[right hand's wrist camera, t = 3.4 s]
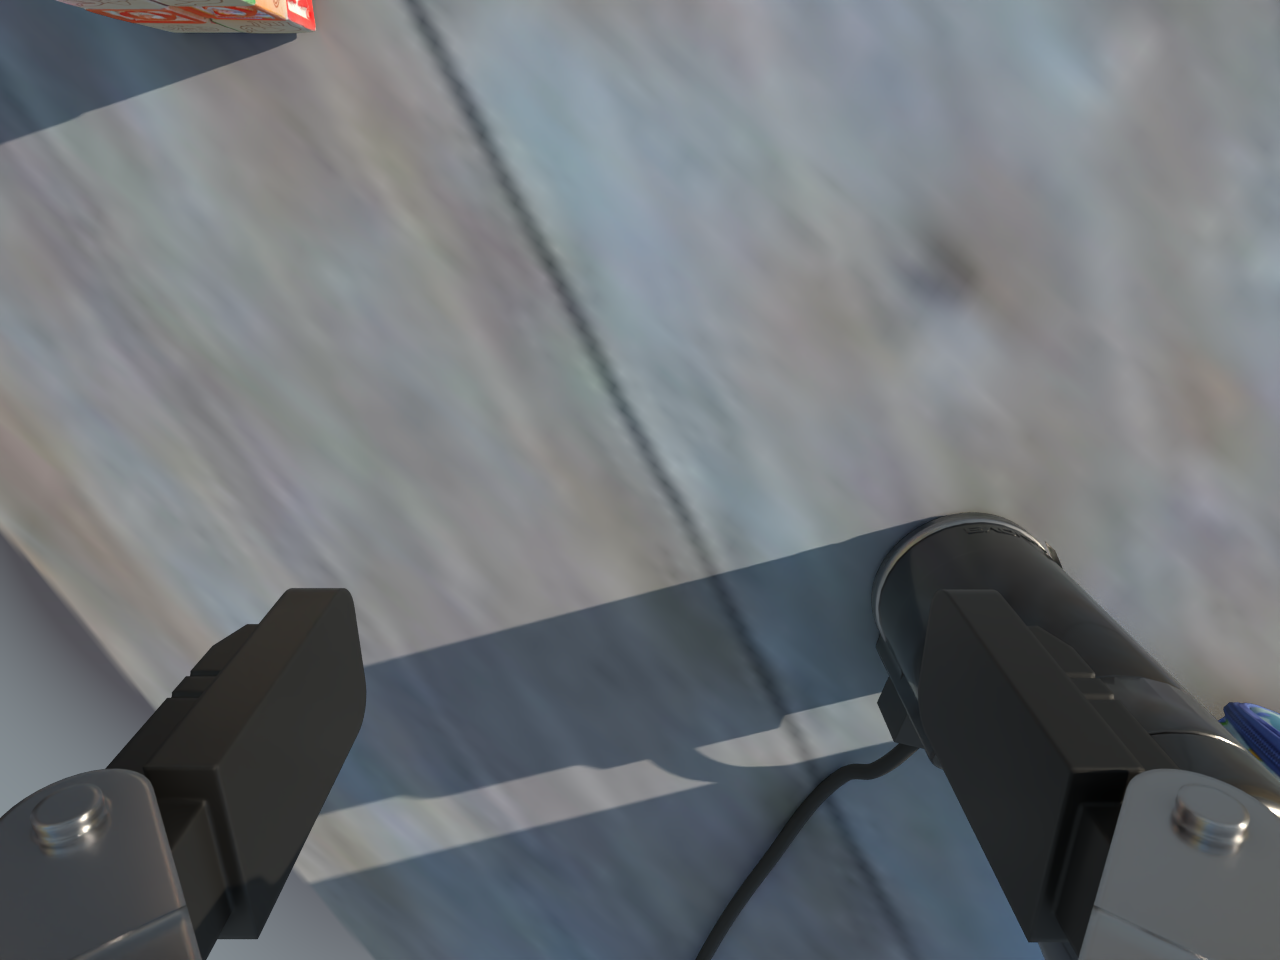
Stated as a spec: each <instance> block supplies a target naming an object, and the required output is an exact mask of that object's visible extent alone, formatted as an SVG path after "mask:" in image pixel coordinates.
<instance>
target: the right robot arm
mask: <svg viewBox="0 0 1280 960" xmlns="http://www.w3.org/2000/svg"><path fill="white" fill-rule="evenodd" d="M1045 543H1046V542H1045ZM1046 545H1047V548H1048V550H1049V552H1050V555H1051V557H1052V558H1051V557H1050V556H1049V555H1048V554H1047V552H1046V551H1045V550H1044V548H1043V547H1042V546H1041V545H1040V544H1039V543H1038V542H1037V541H1036V540H1035V539H1034V538H1033V537H1032V536H1031V535H1030V534H1029V533H1028V532H1027V531H1026V530H1025V529H1023V528H1022V527H1020V526H1019V525H1017V524H1016V523H1014V522H1012V521H1010V520H1008V519H1005V518H1003V517H999V516H996V515H991V514H986V513H959V514H953V515H948V516H944V517H941V518H938V519H935V520H933V521H930V522H928V523H926V524H924V525H922V526H920V527H918V528H917V529H915V530H914V531H912V532H910V533H909V534H908V535H907V536H905V537H904V538H903V539H902V540H901V541H899V542H898V543H897V544H896V545H895V546H894V548H893V549H892V550H891V551H890V552H889V554H888V555H887V556H886V558H885V559H884V561H883V562H882V564H881V566H880V568H879V570H878V572H877V575H876V578H875V580H874V584H873V589H872V611H873V616H874V619H875V622H876V625H877V627H878V629H879V631H880V637H879V639H878V642H877V644H876V649H877V651H878V653H879V655H880V657H881V659H882V662H883V664H884V666H885V668H886V670H887V672H888V674H889V677H888V680H887V682H886V684H885V686H884V688H883V691H882V693H881V695H880V697H879V699H878V702H877V704H878V706H879V708H880V711H881V713H882V715H883V718H884V720H885V722H886V724H887V727H888V729H889V731H890V734H891V736H892V738H893V741H894V742H897V743H899V744H898V745H897V746H896V747H894V748H893V749H892V750H891V751H890V752H888V753H887V754H886V755H884V756H883V757H882V758H880V759H878V760H877V761H875V762H873V763H870V764H850V765H847V766H844V767H842V768H840V769H838V770H837V771H835V772H834V773H832V774H831V775H830V776H829V777H827V778H826V779H825V780H824V781H823V782H822V783H821V784H819V785H818V786H817V787H816V788H815V789H814V791H813V792H812V793H811V794H810V795H809V796H808V797H807V798H806V800H805V801H804V802H803V803H802V804H801V805H800V807H799V808H798V809H797V811H796V812H795V813H794V815H793V816H792V817H791V819H790V820H789V821H788V823H787V824H786V826H785V827H784V828H783V830H782V831H781V833H780V834H779V835H778V837H777V838H776V840H775V841H774V842H773V844H772V845H771V847H770V848H769V849H768V851H767V852H766V853H765V855H764V856H763V858H762V859H761V860H760V862H759V863H758V864H757V865H756V867H755V868H754V869H753V871H752V872H751V873H750V875H749V876H748V878H747V879H746V880H745V882H744V883H743V884H742V886H741V887H740V889H739V890H738V891H737V893H736V894H735V896H734V897H733V899H732V900H731V901H730V903H729V904H728V906H727V907H726V909H725V910H724V912H723V914H722V915H721V917H720V918H719V920H718V922H717V923H716V925H715V926H714V928H713V930H712V931H711V933H710V935H709V937H708V938H707V940H706V942H705V943H704V945H703V947H702V949H701V951H700V952H699V954H698V956H697V958H696V960H711V958H712V957H713V955H714V953H715V951H716V950H717V948H718V946H719V945H720V943H721V941H722V940H723V938H724V936H725V935H726V933H727V931H728V930H729V928H730V927H731V925H732V924H733V922H734V921H735V919H736V917H737V916H738V915H739V913H740V912H741V910H742V909H743V907H744V906H745V904H746V903H747V902H748V900H749V899H750V897H751V896H752V895H753V893H754V892H755V891H756V889H757V888H758V887H759V885H760V884H761V883H762V881H763V880H764V879H765V877H766V876H767V875H768V873H769V872H770V871H771V870H772V868H773V867H774V866H775V864H776V863H777V862H778V860H779V859H780V858H781V856H782V855H783V853H784V852H785V851H786V849H787V848H788V846H789V845H790V844H791V842H792V841H793V839H794V838H795V837H796V835H797V834H798V832H799V831H800V830H801V828H802V827H803V826H804V824H805V823H806V822H807V820H808V819H809V818H810V817H811V815H812V814H813V813H814V812H815V811H816V809H817V808H818V807H819V806H820V805H821V804H822V803H823V802H824V801H825V800H826V799H827V798H828V797H829V796H830V795H831V794H832V793H833V792H834V791H835V790H837V789H838V788H839V787H840V786H842V785H843V784H845V783H846V782H847V781H849V780H852V779H863V780H869V779H874V778H877V777H880V776H883V775H885V774H887V773H888V772H890V771H892V770H893V769H895V768H896V767H898V766H899V765H900V764H902V763H903V762H904V761H905V760H907V759H908V758H909V757H910V756H911V755H912V754H913V753H915V752H916V751H917V750H918V749H919V748H923V749H925V751H926V753H927V755H928V757H929V759H930V761H931V762H932V764H933V765H935V766H936V767H938V768H940V769H943V770H944V772H945V774H946V776H947V778H948V780H949V782H950V784H951V786H952V788H953V790H954V792H955V795H956V797H957V799H958V801H959V803H960V805H961V807H962V809H963V811H964V813H965V815H966V817H967V819H968V821H969V823H970V825H971V827H972V829H973V831H974V833H975V835H976V837H977V839H978V841H979V843H980V845H981V847H982V849H983V851H984V853H985V855H986V857H987V859H988V861H989V863H990V865H991V867H992V869H993V871H994V873H995V875H996V877H997V879H998V881H999V883H1000V886H1001V888H1002V890H1003V892H1004V894H1005V896H1006V898H1007V900H1008V902H1009V904H1010V906H1011V908H1012V910H1013V912H1014V914H1015V916H1016V918H1017V920H1018V922H1019V924H1020V926H1021V928H1022V930H1023V932H1024V934H1025V936H1026V938H1027V940H1028V942H1038V944H1039V946H1040V949H1041V951H1042V954H1043V956H1044V959H1045V960H1280V781H1279V780H1278V779H1277V778H1276V777H1275V776H1274V775H1273V774H1272V773H1271V772H1270V771H1269V770H1268V769H1267V768H1266V767H1265V766H1264V765H1263V764H1262V763H1261V762H1260V761H1259V760H1258V759H1257V758H1256V757H1255V756H1254V755H1253V754H1252V753H1251V752H1250V751H1249V750H1248V749H1246V748H1245V747H1244V746H1243V745H1242V744H1241V743H1240V742H1239V741H1238V740H1237V739H1236V738H1235V737H1234V736H1233V735H1232V734H1231V733H1230V732H1229V731H1228V730H1227V729H1226V728H1225V727H1224V726H1223V725H1222V724H1221V723H1220V722H1219V721H1218V720H1217V719H1216V718H1215V717H1214V716H1213V715H1212V714H1211V713H1210V712H1209V711H1208V710H1207V709H1206V708H1204V707H1203V706H1202V705H1201V704H1200V703H1199V702H1198V701H1197V700H1196V699H1195V698H1194V697H1193V696H1192V695H1191V694H1190V693H1189V692H1188V691H1187V690H1186V689H1185V688H1184V687H1183V686H1182V685H1181V684H1180V683H1179V682H1178V681H1177V680H1176V679H1175V678H1173V677H1172V676H1171V675H1170V674H1169V673H1168V672H1167V671H1166V670H1165V669H1164V668H1163V667H1162V666H1161V665H1160V664H1159V663H1158V662H1157V661H1156V660H1155V659H1154V658H1153V657H1152V656H1151V655H1150V654H1149V653H1148V652H1147V651H1146V650H1145V649H1144V648H1143V647H1142V646H1141V645H1140V644H1139V643H1138V642H1137V641H1136V640H1135V639H1134V638H1133V637H1132V636H1131V635H1129V634H1128V633H1127V632H1126V631H1125V630H1124V629H1123V628H1122V627H1121V626H1120V625H1119V624H1118V623H1117V622H1116V621H1115V620H1114V619H1113V618H1112V617H1111V616H1110V615H1109V614H1108V613H1107V612H1106V611H1105V610H1104V609H1103V608H1102V607H1101V606H1100V605H1099V604H1098V603H1097V602H1096V601H1095V600H1094V599H1093V598H1092V597H1091V596H1090V595H1089V594H1088V593H1086V592H1085V591H1084V590H1083V589H1082V588H1081V587H1080V586H1079V585H1078V584H1077V583H1076V582H1075V581H1074V580H1073V579H1072V578H1071V577H1070V576H1069V575H1068V574H1067V573H1066V572H1065V571H1064V570H1063V568H1062V566H1061V564H1060V561H1059V559H1058V557H1057V554H1056V552H1055V550H1054V549H1053V548H1052V547H1050V546H1049V545H1048V544H1047V543H1046ZM365 706H366V682H365V675H364V668H363V661H362V655H361V648H360V641H359V635H358V628H357V621H356V614H355V608H354V602H353V599H352V596H351V594H350V592H349V591H348V590H347V589H345V588H291V589H288V590H287V591H286V592H285V593H284V594H283V595H282V596H281V597H280V599H279V600H278V601H277V602H276V603H275V605H274V606H273V607H272V608H271V610H270V611H269V612H268V613H267V614H266V616H265V617H264V618H263V619H262V621H261V622H260V623H259V624H247V625H245V626H243V627H242V628H240V629H239V630H237V631H236V632H234V633H232V634H231V635H229V636H228V637H226V638H224V639H223V640H221V641H220V642H218V643H216V644H215V645H213V646H212V647H211V648H210V650H209V651H208V652H207V653H206V654H205V655H204V656H203V658H202V659H201V660H200V661H199V662H198V663H197V664H196V666H195V667H194V668H193V669H192V670H191V674H190V676H186V677H185V678H184V679H183V680H182V682H181V683H180V684H179V685H178V686H177V687H176V688H175V690H174V691H173V692H172V697H171V698H167V699H166V700H165V701H164V702H163V703H162V704H161V706H160V707H159V708H158V709H157V710H156V711H155V713H154V714H153V715H152V716H151V717H150V718H149V719H148V721H147V722H146V723H145V724H144V725H143V726H142V728H141V729H140V730H139V731H138V732H137V733H136V734H135V735H134V737H133V738H132V739H131V740H130V741H129V742H128V743H127V745H126V746H125V747H124V748H123V749H122V750H121V751H120V753H119V754H118V755H117V756H116V757H115V758H114V759H113V761H112V762H111V763H110V764H109V765H108V766H107V768H106V769H102V770H94V771H89V772H85V773H81V774H77V775H74V776H71V777H68V778H65V779H62V780H60V781H57V782H55V783H53V784H50V785H48V786H46V787H44V788H42V789H40V790H38V791H36V792H35V793H33V794H31V795H30V796H28V797H26V798H25V799H23V800H22V801H20V802H19V803H18V804H16V805H15V806H13V807H12V808H11V809H10V810H9V811H7V812H6V813H5V814H4V815H3V816H2V817H1V818H0V960H206V959H207V957H208V955H209V953H210V952H211V950H212V948H213V946H214V944H215V942H216V940H217V939H258V937H259V935H260V933H261V931H262V929H263V927H264V925H265V923H266V921H267V919H268V917H269V915H270V913H271V911H272V909H273V907H274V905H275V903H276V901H277V898H278V896H279V894H280V892H281V890H282V888H283V886H284V884H285V882H286V880H287V878H288V876H289V874H290V872H291V870H292V868H293V866H294V864H295V862H296V860H297V858H298V856H299V854H300V851H301V849H302V847H303V845H304V843H305V841H306V839H307V837H308V835H309V833H310V831H311V829H312V827H313V825H314V823H315V821H316V819H317V817H318V815H319V813H320V811H321V808H322V806H323V804H324V802H325V800H326V798H327V796H328V794H329V792H330V790H331V788H332V786H333V784H334V782H335V780H336V778H337V776H338V774H339V772H340V770H341V768H342V765H343V763H344V761H345V759H346V757H347V755H348V753H349V751H350V749H351V747H352V745H353V743H354V741H355V739H356V737H357V735H358V733H359V730H360V728H361V725H362V722H363V718H364V713H365Z"/></svg>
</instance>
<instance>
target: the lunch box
mask: <svg viewBox="0 0 1280 960" xmlns="http://www.w3.org/2000/svg"><path fill="white" fill-rule="evenodd" d="M1224 713H1225V716H1224V717H1223V718H1221V719H1220V720H1218V721H1219V722H1220V723H1221V724H1222V725H1223V726H1224V727H1225V728H1226V729H1227V730H1228V731H1229V732H1230V733H1231V734H1232V735H1233V736H1234V737H1235V738H1236V739H1237V740H1238V741H1239V742H1240V743H1241V744H1242V745H1243V746H1244V747H1245V748H1246V749H1248V750H1249V751H1250V752H1251V753H1252V754H1253V755H1254V756H1255V757H1256V758H1257V759H1258V760H1259V761H1260V762H1261V763H1262V764H1263V765H1264V766H1265V767H1266V768H1267V769H1268V770H1269V771H1270V772H1271V773H1272V774H1273V775H1274V776H1275V777H1276V778H1277V779H1278V780H1279V781H1280V714H1279V713H1277V712H1274V711H1272V710H1269V709H1267V708H1264V707H1261V706H1258V705H1255V704H1251V703H1238V702H1235V703H1233V702H1230V703H1228V704H1227V705H1226V706H1225V707H1224Z"/></svg>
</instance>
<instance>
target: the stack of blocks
mask: <svg viewBox="0 0 1280 960" xmlns="http://www.w3.org/2000/svg"><path fill="white" fill-rule="evenodd" d="M56 1H59V2H63V3H66V4H70V5H73V6H77V7H80V8H84V10H87V11H90V12H93V13H96V14H100V15H104V16H107V17H111V18H115V19H119V20H123V21H127V22H131V23H136V24H140V25H145V26H149V27H153V28H157V29H160V30H164V31H168V32H173V33H239V32H245V33H303V32H313V31H315V30H316V28H315V20H314V13H313V6H312V0H56Z"/></svg>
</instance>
